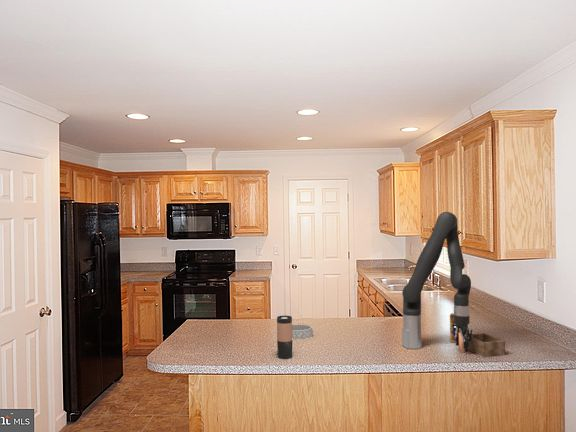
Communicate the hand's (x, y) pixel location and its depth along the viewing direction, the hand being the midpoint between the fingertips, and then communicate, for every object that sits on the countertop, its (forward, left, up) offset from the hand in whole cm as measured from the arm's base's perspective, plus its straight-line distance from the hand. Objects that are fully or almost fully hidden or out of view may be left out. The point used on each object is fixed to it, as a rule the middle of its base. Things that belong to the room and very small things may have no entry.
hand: (462, 347), depth 237 cm
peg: (0, 0, -3) cm, 3 cm away
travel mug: (-88, +18, -3) cm, 90 cm away
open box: (+11, -2, -3) cm, 12 cm away
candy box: (+9, +16, -3) cm, 19 cm away
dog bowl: (-71, +56, -3) cm, 91 cm away
